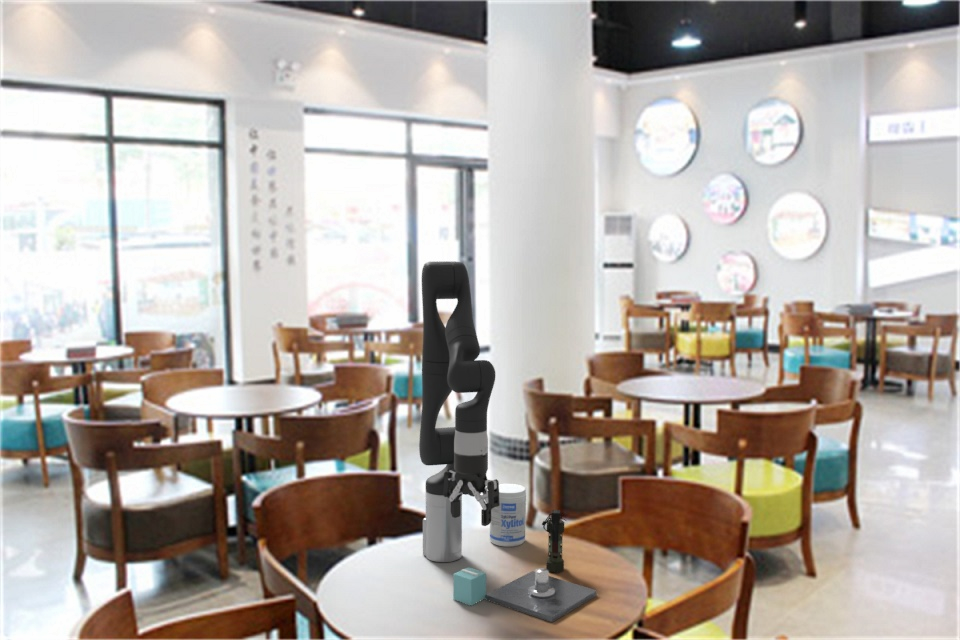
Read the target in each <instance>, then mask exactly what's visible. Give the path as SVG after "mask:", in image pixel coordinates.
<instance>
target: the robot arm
mask: <svg viewBox="0 0 960 640" xmlns="http://www.w3.org/2000/svg"><path fill="white" fill-rule="evenodd" d="M470 286H471V285H470V277H469V274H468V270H467V267H466V265H465V264H464V263H463V262H461V261H453V260H452V261H451V260H450V261H425V263H424V264H423V267H422V270H421V297H422V298H421V300H422V322H423V323H422V325H423V326H422V327H423V329H422V354H421V355H422V356H421V387H422V388H421V389H422V391H421V394H422V395H421V396H422V399H421V402H422V403H421V415H420V429H419V442H418V443H419V444H418V447H419V449H418V451H419V457H420V461H421V462H422V464H423V465H425V466H441V465H442V466H443V465H446V466H445V467H444V468H442V470H440V471H438V472H437V473H435V474H433V475H431V476H429V477H427V479H426V481H425V517H424V518H423V519H422V555H423V556H424V557H425V558H426V559H427V560H429V561H432V562H437V563H450V562H451V563H452V562H455V561H458V560H459V559H461V558H462V556H463V555H462V554H463V551H462V550H463V549H462V548H463V495H466V496H467V495H468V496H470V497H474V498H475V501H476V502H477V503H479V505H480V507H481V508H482V509H481V511H480V512H481V513H480V514H481V515H480V516H481V518H480V519H481V520H480V521H481V526H483V527H488V526H490V523H491V510H492V508H494V507H497V506H499V505H500V502H499V484H500V483H499V480H498V479H493V480H492V479H488V477H487V472H488V469H489V437H488V409H489V403H490V399H491V395H492V392H493V389H494V386H495V382H496V370H495V367H494V365H493V363H491V361H489V360H486V359H478V357H479V356H480V353H481V348H480V347H481V346H480V343H479V340H478V335H477V332H476V329H475V324H474V318H473V316H474V315H473V306H472V305H473V304H472V294H471V287H470ZM437 300H457V303H456V305H455V308H454V310H453V311H452V313H451V314H450V316H449V318H448V319H447V322H446V325H445V324H444V322H443V321H442V319H441V316H440V314H439V310H438V306H437V305H438V304H437ZM477 359H478V360H477ZM452 392H454V393H456V394H465V393H466V394H467V393H469V394H470V393H476V395H475V396H474V397H473V399H471V400H469V401H468V400H467V401H465V402H460V403H458V404H457V405H456V406H455V412H454V413H455V414H454V415H455V417H454V419H455V420H454V421H455V422H454V423H455V426H450V427H449V426H448V427H436V426H437V420H438V417H439V414H440V411H441V410H442V407H443V405H444V404H445V402H446V400H447V399H448V397H449V396H450V394H451V393H452Z"/></svg>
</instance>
